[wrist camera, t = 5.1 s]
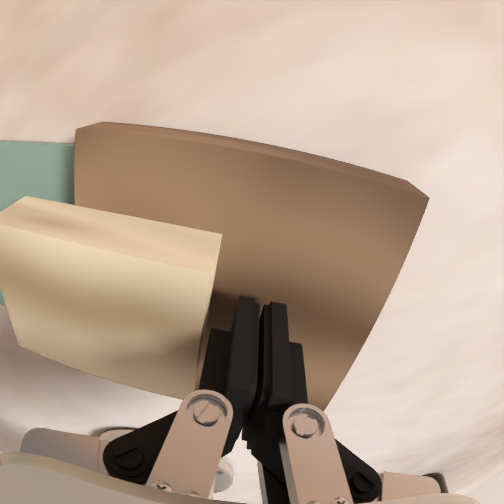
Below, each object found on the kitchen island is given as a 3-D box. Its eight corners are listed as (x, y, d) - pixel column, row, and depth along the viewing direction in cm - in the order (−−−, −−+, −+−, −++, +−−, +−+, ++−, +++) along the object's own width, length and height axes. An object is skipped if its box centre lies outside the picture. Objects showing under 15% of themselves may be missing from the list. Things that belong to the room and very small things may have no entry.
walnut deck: (318, 385, 17) (322, 413, 15) (109, 347, 16) (97, 372, 15) (407, 181, 11) (429, 197, 10) (102, 121, 11) (75, 129, 9)
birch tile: (201, 358, 13) (191, 401, 11) (43, 313, 13) (19, 346, 11) (222, 234, 11) (210, 273, 8) (25, 195, 10) (-13, 221, 8)
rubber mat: (103, 333, 16) (100, 338, 15) (-26, 288, 15) (-29, 291, 15) (94, 145, 11) (89, 147, 11) (-51, 140, 10) (-56, 142, 10)
